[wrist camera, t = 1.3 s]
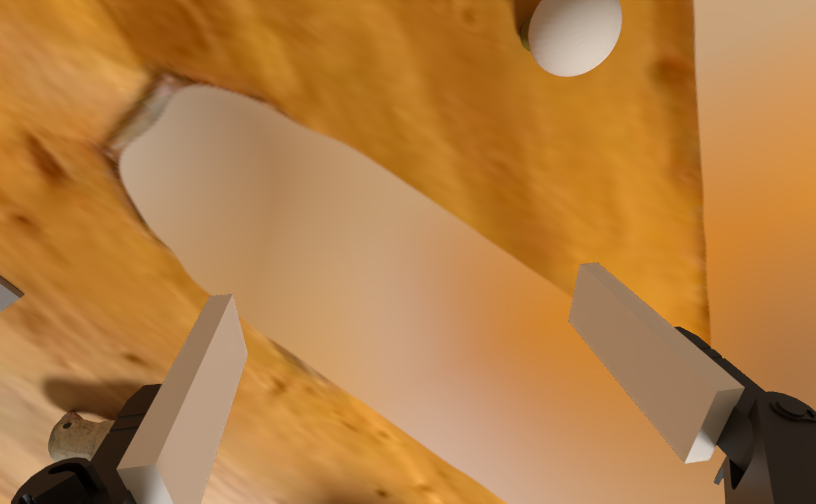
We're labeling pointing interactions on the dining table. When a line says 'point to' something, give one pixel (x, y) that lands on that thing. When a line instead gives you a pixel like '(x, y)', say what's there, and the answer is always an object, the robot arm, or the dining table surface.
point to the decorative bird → (77, 437)
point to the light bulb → (572, 34)
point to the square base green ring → (8, 294)
